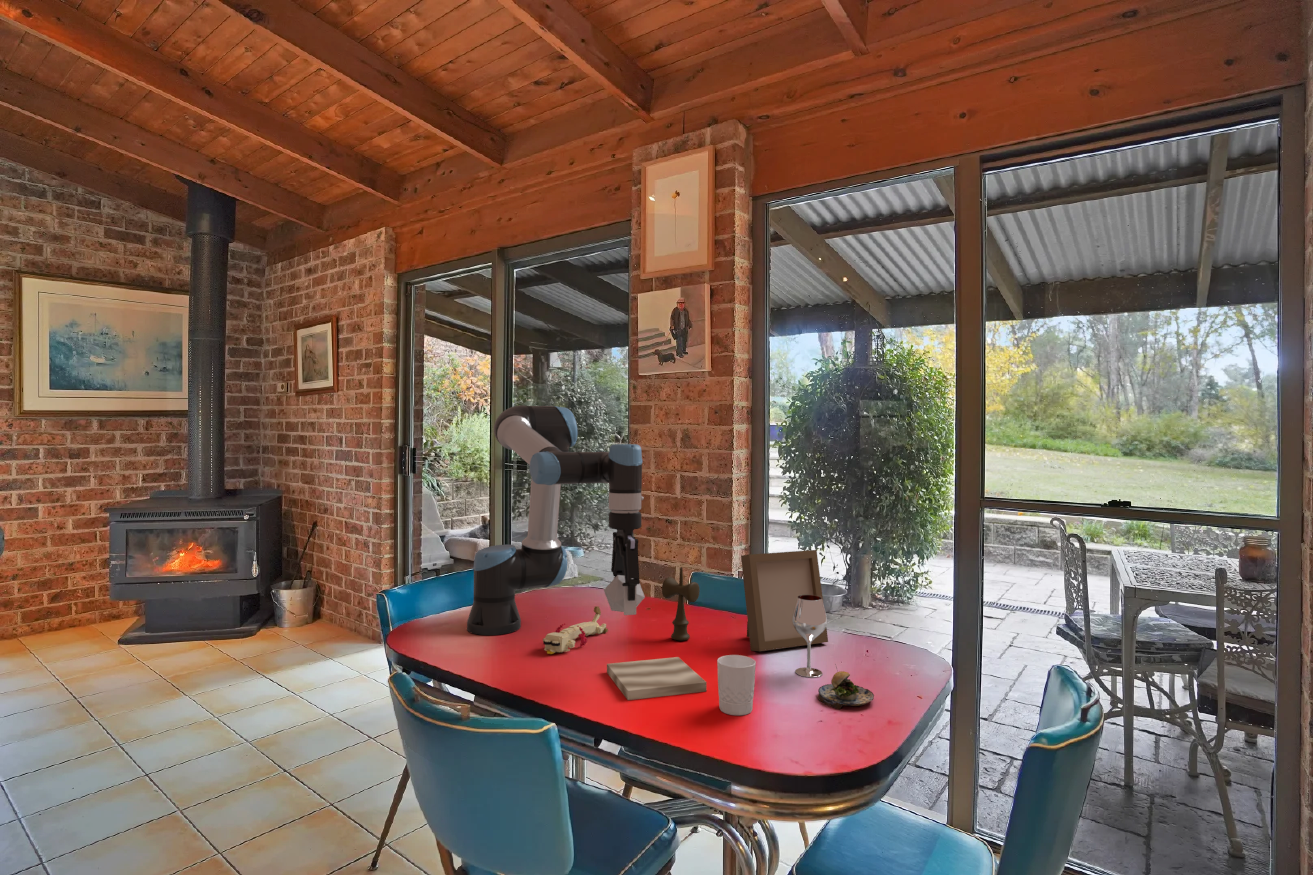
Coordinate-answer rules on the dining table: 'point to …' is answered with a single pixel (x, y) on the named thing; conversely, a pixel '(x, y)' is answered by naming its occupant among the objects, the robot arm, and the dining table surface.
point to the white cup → (736, 684)
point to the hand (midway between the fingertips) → (624, 609)
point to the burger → (843, 692)
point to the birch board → (655, 678)
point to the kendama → (680, 603)
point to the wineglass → (809, 626)
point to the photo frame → (778, 596)
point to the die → (620, 594)
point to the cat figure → (573, 634)
